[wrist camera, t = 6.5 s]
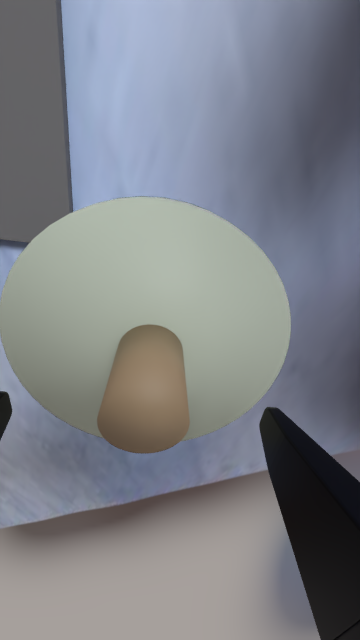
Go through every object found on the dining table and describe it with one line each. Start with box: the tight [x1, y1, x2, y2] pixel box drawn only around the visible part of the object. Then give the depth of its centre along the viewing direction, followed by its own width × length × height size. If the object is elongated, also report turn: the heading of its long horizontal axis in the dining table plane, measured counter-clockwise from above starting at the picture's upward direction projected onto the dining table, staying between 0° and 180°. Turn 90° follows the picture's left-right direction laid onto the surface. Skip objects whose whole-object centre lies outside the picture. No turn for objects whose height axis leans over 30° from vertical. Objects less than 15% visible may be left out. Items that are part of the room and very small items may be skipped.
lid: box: [0, 196, 291, 453], centre depth 11 cm, size 13×13×5 cm
